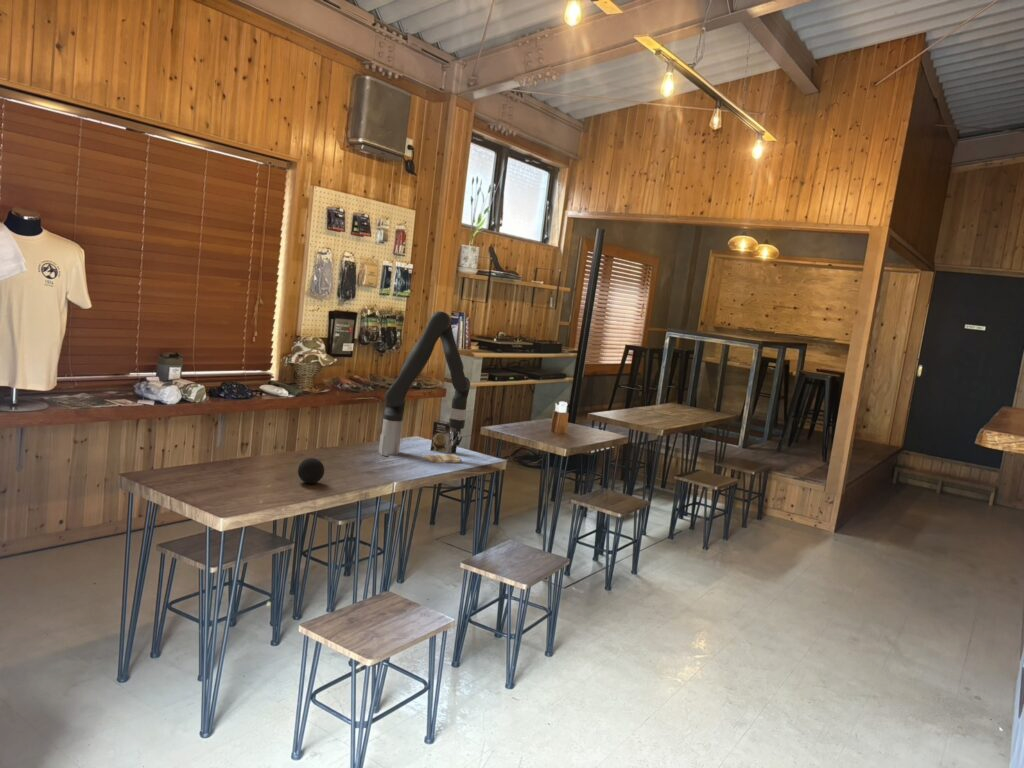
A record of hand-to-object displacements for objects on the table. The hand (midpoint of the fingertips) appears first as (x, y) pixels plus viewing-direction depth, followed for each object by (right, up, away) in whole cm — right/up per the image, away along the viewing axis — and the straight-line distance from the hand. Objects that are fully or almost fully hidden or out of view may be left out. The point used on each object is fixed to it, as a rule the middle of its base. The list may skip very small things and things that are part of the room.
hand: (453, 452), depth 351 cm
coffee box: (-8, -2, +18) cm, 20 cm away
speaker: (-51, -6, -66) cm, 83 cm away
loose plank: (-2, -3, 0) cm, 4 cm away
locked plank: (-9, -3, -4) cm, 10 cm away
